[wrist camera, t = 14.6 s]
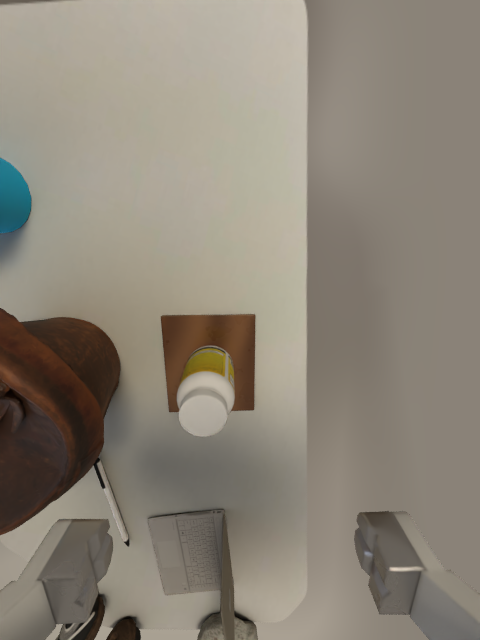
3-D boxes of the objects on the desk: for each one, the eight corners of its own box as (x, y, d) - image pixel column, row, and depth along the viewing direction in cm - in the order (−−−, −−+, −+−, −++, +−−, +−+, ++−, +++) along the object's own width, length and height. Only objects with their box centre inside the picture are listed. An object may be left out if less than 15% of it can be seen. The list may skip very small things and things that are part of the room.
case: (134, 285, 33) (33, 330, 16) (149, 422, 39) (84, 565, 22) (-14, 285, 33) (-284, 331, 16) (22, 425, 38) (-148, 574, 21)
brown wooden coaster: (254, 314, 35) (255, 315, 34) (253, 407, 39) (254, 410, 38) (161, 315, 35) (160, 316, 34) (170, 409, 39) (169, 412, 38)
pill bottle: (177, 365, 36) (155, 416, 25) (210, 334, 35) (202, 375, 24) (210, 394, 37) (202, 454, 27) (243, 366, 36) (248, 417, 26)
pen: (98, 450, 40) (94, 456, 39) (132, 543, 45) (129, 550, 44) (92, 451, 40) (88, 457, 39) (127, 543, 45) (124, 551, 44)
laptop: (148, 514, 44) (115, 624, 31) (225, 507, 44) (223, 613, 31) (165, 590, 49) (143, 710, 36) (234, 583, 49) (236, 700, 36)
